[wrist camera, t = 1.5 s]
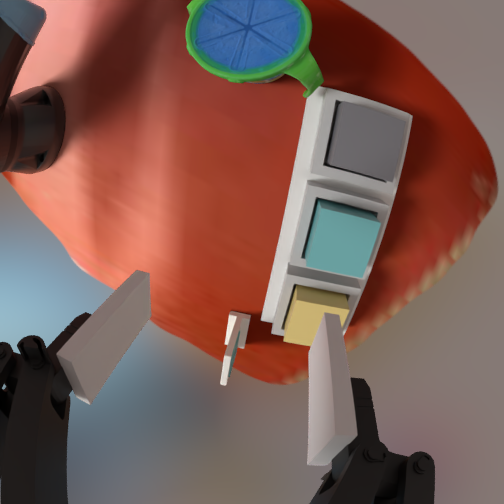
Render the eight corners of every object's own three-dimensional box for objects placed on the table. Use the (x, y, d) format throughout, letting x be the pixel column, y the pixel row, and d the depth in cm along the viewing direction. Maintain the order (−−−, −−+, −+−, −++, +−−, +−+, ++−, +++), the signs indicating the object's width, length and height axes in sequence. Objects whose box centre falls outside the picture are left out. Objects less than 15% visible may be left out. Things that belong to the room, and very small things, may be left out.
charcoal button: (325, 161, 26) (331, 165, 23) (336, 106, 24) (343, 101, 20) (379, 176, 26) (392, 182, 22) (391, 122, 23) (405, 121, 20)
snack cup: (341, 76, 25) (361, 51, 16) (273, 130, 29) (264, 127, 20) (248, -4, 22) (230, -46, 13) (185, 48, 26) (145, 22, 17)
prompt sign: (226, 340, 42) (212, 382, 34) (230, 310, 39) (215, 353, 31) (244, 344, 42) (234, 387, 34) (250, 315, 39) (240, 358, 31)
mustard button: (285, 320, 34) (283, 341, 31) (296, 281, 32) (296, 299, 28) (329, 328, 34) (332, 349, 30) (344, 290, 32) (349, 309, 28)
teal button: (304, 250, 30) (306, 266, 27) (317, 198, 28) (321, 208, 24) (355, 261, 30) (362, 278, 26) (370, 211, 27) (381, 222, 24)
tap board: (262, 311, 39) (258, 334, 34) (308, 87, 26) (311, 78, 22) (342, 326, 38) (346, 349, 33) (406, 116, 26) (423, 114, 21)
